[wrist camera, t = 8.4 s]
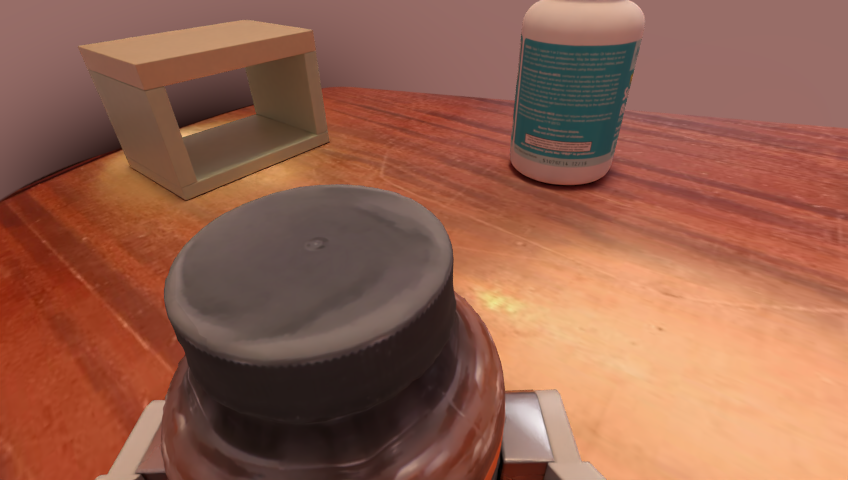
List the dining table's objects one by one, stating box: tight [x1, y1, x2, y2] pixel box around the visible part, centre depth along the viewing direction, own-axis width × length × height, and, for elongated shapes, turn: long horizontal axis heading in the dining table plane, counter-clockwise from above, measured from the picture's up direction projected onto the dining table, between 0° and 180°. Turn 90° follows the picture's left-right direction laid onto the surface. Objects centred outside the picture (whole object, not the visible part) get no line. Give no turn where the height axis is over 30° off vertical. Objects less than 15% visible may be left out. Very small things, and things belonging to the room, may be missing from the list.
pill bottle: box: [510, 0, 645, 185], centre depth 30 cm, size 8×7×14 cm
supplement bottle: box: [161, 184, 505, 480], centre depth 10 cm, size 6×6×11 cm
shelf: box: [78, 20, 329, 200], centre depth 34 cm, size 13×9×9 cm
